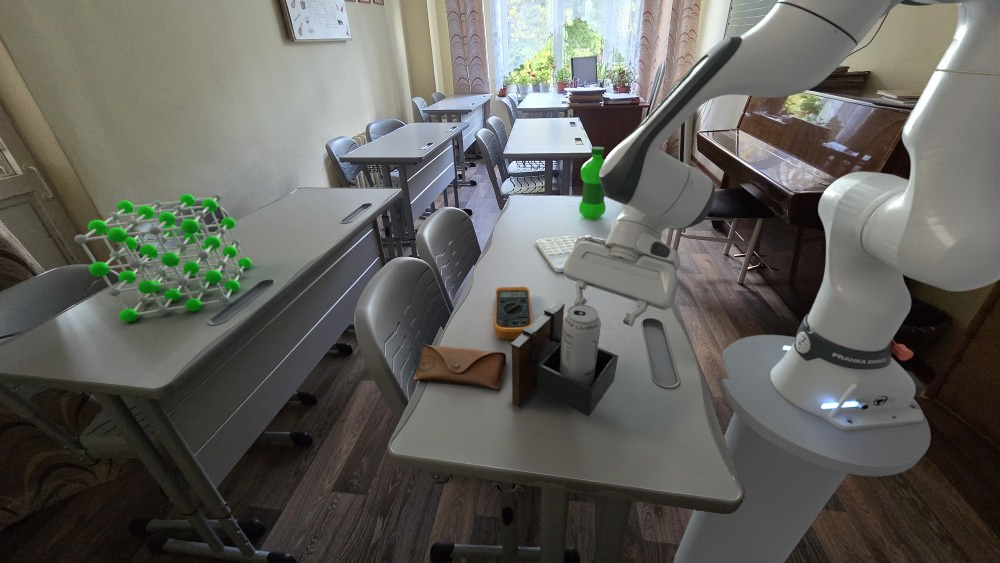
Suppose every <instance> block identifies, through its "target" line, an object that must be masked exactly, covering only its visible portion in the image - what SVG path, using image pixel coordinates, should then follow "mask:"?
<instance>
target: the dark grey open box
mask: <svg viewBox="0 0 1000 563" xmlns="http://www.w3.org/2000/svg"><path fill="white" fill-rule="evenodd" d="M544 313H547V314H549V315H552V316H553V317H552V331H551V342H557V343H558V344H557V345H556V346H555V347H554V348H553V349H552V350H551V351H550V352H549V353H548V355H547V356H546V357H545V358H544V359H543V360H542V359H540V358H538V357H535V347H536V334H535V331H533V330H531V329H529V328H527V327H525V328H524V329H523V330H522V332H523V333H526V334H528V335H530V336H531V359H530V363H533V362H534V363H536V364H538V366H537V389H536V391H539V392H540V393H542V394H544V395H545V396H548V397H550V398H552V399H553V400H555V401H557V402H559V403H561V404H563V405H564V406H567V407H569V408H571V409H572V410H574V411H576V412H578V413H580V414H581V415H584V416H586V417H588V418H589V417H590V416H591V414H593V412H594V410H595V409H596V407H597V406H598V405H599V403H600V402H601V400H602V399H603V397H604V396H605V394H606V393H607V391H608V390H609V389H610V387H611V386H612V384H613V383H614V382H615V378H616V371H617V366H618V361H619V360H618V359H619V355H617V354H615V353H613V352H611V351H608V350H606V349H604V348H601V347H599V346H598V350H597V358H596V365H595V373H594V380H593V383H592V385H591V386H589V387H588V386H586V385H584V384H582V383H580V382H577V381H575V380H573V379H571V378H569V377H567V376H565V375H563V374H561V373H559V372H560V358H561V344H562V338H559V337H557V336H556V318H557V314H556V311H554V310H551V309H550V307H549V308H548V307H546V308H545V309H544V310H543V314H544Z"/></svg>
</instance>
